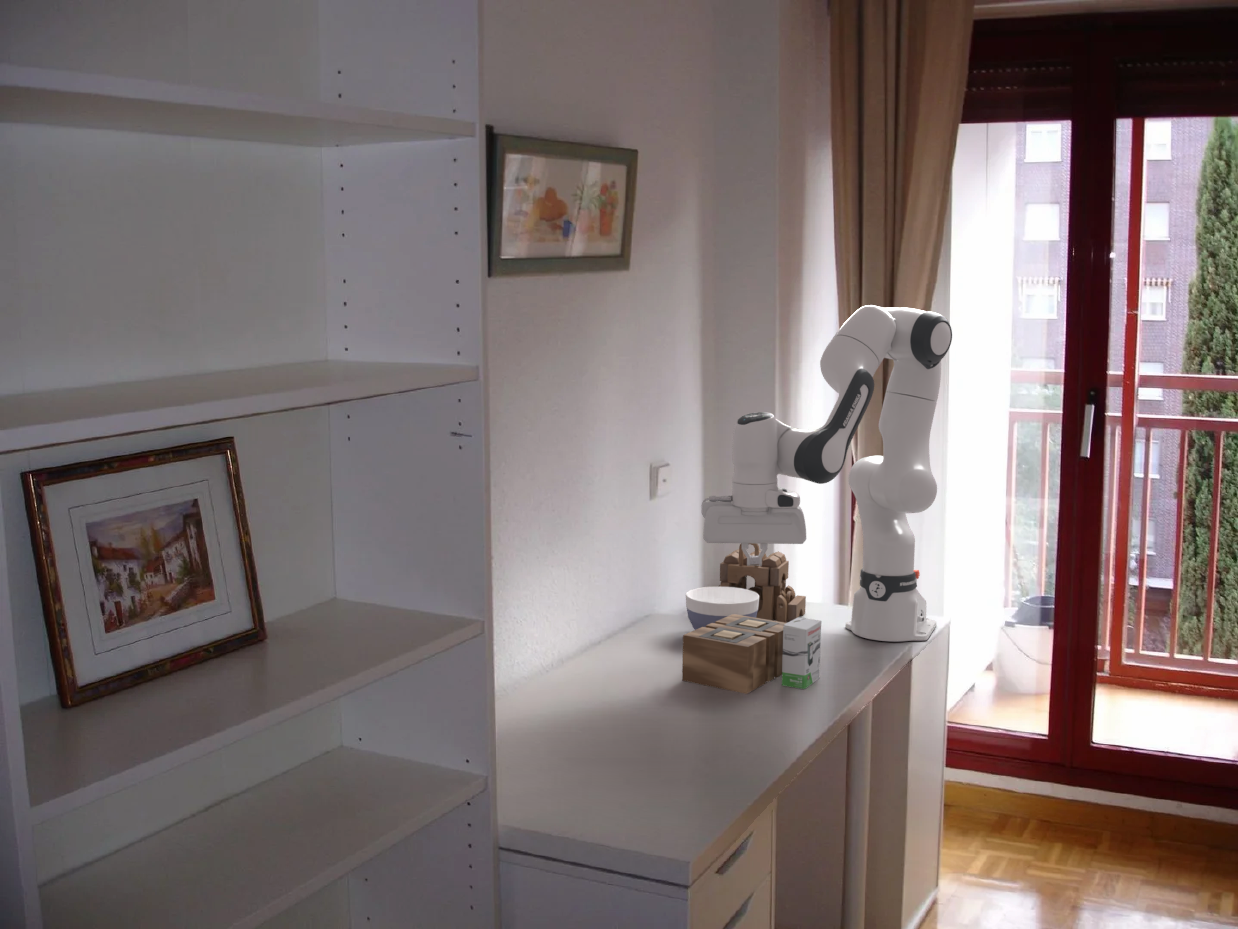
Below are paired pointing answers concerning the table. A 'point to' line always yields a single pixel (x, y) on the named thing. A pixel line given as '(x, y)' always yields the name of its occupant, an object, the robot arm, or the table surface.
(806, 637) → the ink box
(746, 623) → the peg
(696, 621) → the bowl
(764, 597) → the wooden puzzle
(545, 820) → the table surface
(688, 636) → the socket block
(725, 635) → the peg
